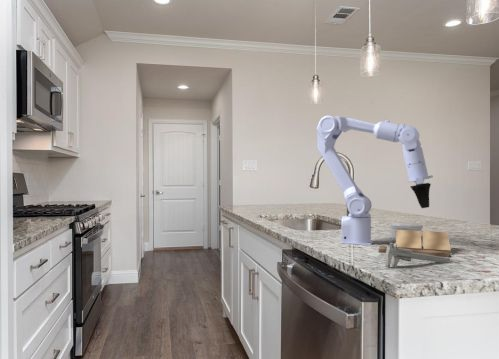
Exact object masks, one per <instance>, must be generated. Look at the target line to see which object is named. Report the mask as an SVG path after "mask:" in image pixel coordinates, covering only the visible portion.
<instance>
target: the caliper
mask: <svg viewBox="0 0 499 359" xmlns="http://www.w3.org/2000/svg"><path fill="white" fill-rule="evenodd" d="M384 256H385V259H384V265H385V267H386V268H389V269H390V268H391V267H392V268H397V266H398V265H399V262H400V260H402V261H406V262H407V261H408V262H411V261H412V259H413V260H420V261H427V262H432V263H433V262H434V263H441V264H444V263H446V264H447V263H453V262H454V260H451V258H448V257H439V256H432V255H426V254H419V253H413V251H411V250H405V249H400V248H397V244H396V242H395V243H393V242H389V245H388V246H387V250H386V253H384Z"/></svg>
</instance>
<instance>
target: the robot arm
mask: <svg viewBox="0 0 499 359" xmlns="http://www.w3.org/2000/svg"><path fill="white" fill-rule="evenodd" d="M352 130H353V131H358V132H363V133H369V134H373V135H374V136H375V138H376V139H378V140H382V141H388V142H392V143H399V142H400V143H401V147H402V156H403V160H404V166H405V170H406V173H407V179H408V180H407V181H408V183H412V182H413V183H415V184H414V185H410V188H411V190H412V191H413V193H414V194H415V197H416V199H417V202H418V205H419V206H420V208H421V209H427V208H430V188H431V185H432V183H430V182H425V180H429V179H431V178H433V176H434V175H431V174H430V175H429V174H428V169H427V164H426V160H425V155H424V151H423V148H422V147H421V146H422V144H421V141H420V132H419V130H418V129H417V128H416V127H415V126H413V125H406V124H405V123H401V124H398V123H393V122H390V120H389V119H385V120H384V121H382V120H381V121H379V122H377V123H373V122H369V121H363V120H361V119H355V118H351V117H345V116H339V115H335V116H332V115H329V114H328V115H325V116H323V117H322V118H321V119H319V122H318V124H317V126H316V133H317V150H318V152H319V153H320V155H321V157H322V158H323V160H324V162H325V164H326V165H327V167H328V168H329V170H330V172H331V173H332V175H333V177H334V179H335V181H336V182H337V184H338V186H339V188H340V189H341V191H342V193H343V197H344V199H345V202H346V206H347V210H348V212H349V213H348V215H342V217H341V224H340V225H341V231H340V235H341V236H340V237H341V238H340V239H341V242H340V244H347V245H361V246H372V244H373V242H374V241H373V239H372V235H371V234H372V215H371V214H370V211H371V209H372V204H373V203H372V201H371V199H370V197H368V196H366V195H365V194H364V193H363V191H362V190H361V189H360V188H359V186H358V185H357V184H356V182H355V181H354V179H353V177H352V175H351V174H350V171H349V170H348V169H347V167H346V165H345V163H343V160H342V159H341V157H340V155H339V154H338V152H337V151H336V148H335V144H336V142H337V139H338V138H339V136H340V135H341V134H342V133H346V132H348V131H352ZM371 239H372V240H371Z"/></svg>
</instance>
